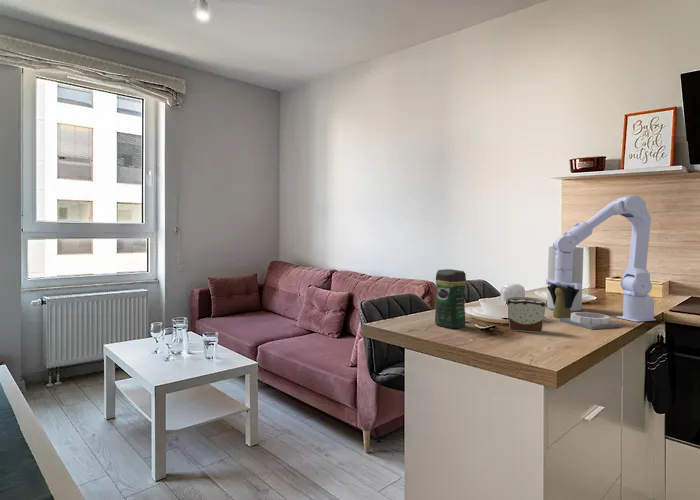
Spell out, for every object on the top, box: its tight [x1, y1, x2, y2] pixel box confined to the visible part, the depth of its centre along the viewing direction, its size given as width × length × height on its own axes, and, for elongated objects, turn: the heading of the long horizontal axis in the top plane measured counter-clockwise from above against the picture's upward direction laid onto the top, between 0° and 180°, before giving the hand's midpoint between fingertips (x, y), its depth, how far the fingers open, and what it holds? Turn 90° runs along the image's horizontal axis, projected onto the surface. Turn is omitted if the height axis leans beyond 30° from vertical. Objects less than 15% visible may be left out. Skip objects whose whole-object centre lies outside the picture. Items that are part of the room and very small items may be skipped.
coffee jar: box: [434, 268, 467, 329], centre depth 145 cm, size 10×8×19 cm
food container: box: [505, 296, 549, 334], centre depth 140 cm, size 12×6×10 cm, turn 71°
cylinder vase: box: [546, 246, 585, 313], centre depth 177 cm, size 12×12×25 cm
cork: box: [552, 287, 572, 320], centre depth 160 cm, size 6×6×11 cm
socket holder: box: [559, 311, 623, 330], centre depth 149 cm, size 13×13×3 cm
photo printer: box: [499, 283, 526, 302], centre depth 159 cm, size 10×4×12 cm, turn 123°
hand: (562, 306), depth 160 cm, fingers closed on cork, 5 cm apart
